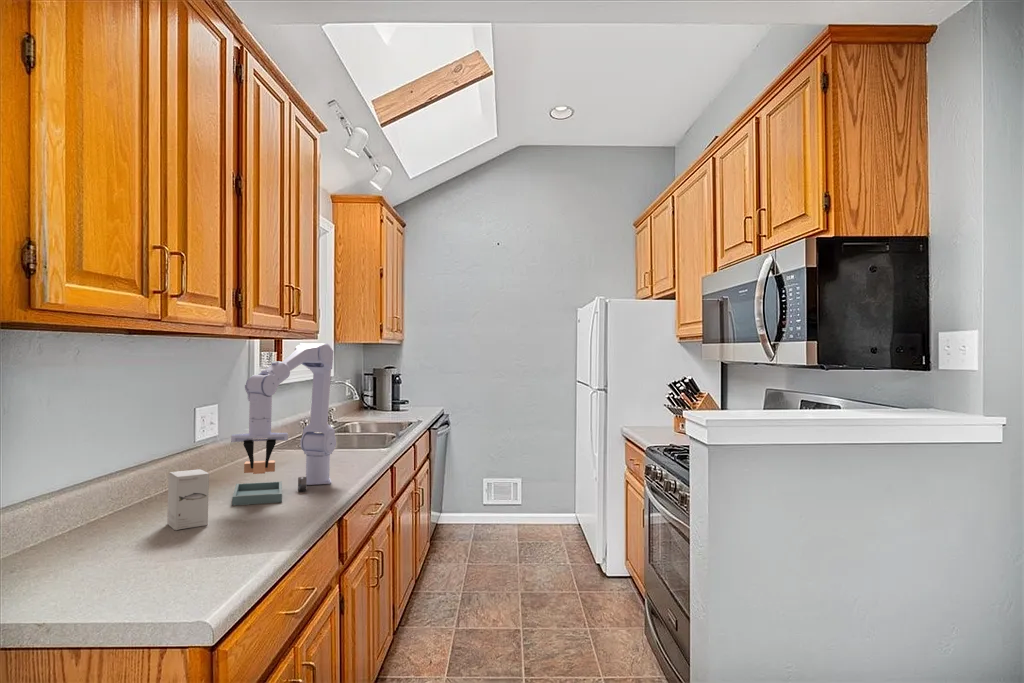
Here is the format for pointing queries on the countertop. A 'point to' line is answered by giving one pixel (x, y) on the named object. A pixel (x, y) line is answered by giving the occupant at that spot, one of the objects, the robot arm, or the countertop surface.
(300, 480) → the grey metal cylinder
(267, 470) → the collar
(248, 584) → the countertop surface
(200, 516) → the supplement box
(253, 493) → the tray
